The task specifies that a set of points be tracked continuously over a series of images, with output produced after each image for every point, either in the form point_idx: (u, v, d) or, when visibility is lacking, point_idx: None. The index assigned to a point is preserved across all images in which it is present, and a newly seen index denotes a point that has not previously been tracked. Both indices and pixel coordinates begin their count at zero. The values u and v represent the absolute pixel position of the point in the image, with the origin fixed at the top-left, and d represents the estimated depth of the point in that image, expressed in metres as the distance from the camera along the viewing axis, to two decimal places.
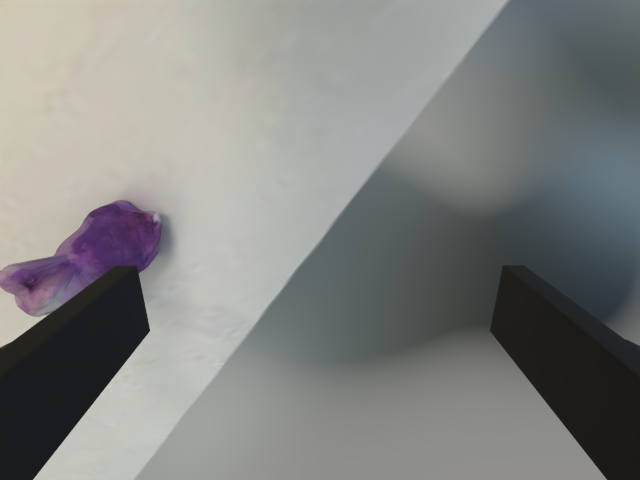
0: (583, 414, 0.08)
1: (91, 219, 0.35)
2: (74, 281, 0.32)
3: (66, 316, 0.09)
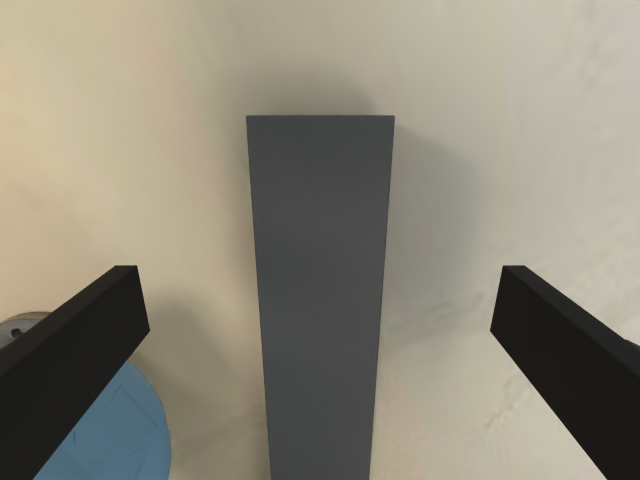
0: (583, 414, 0.08)
1: None
2: None
3: (66, 316, 0.09)
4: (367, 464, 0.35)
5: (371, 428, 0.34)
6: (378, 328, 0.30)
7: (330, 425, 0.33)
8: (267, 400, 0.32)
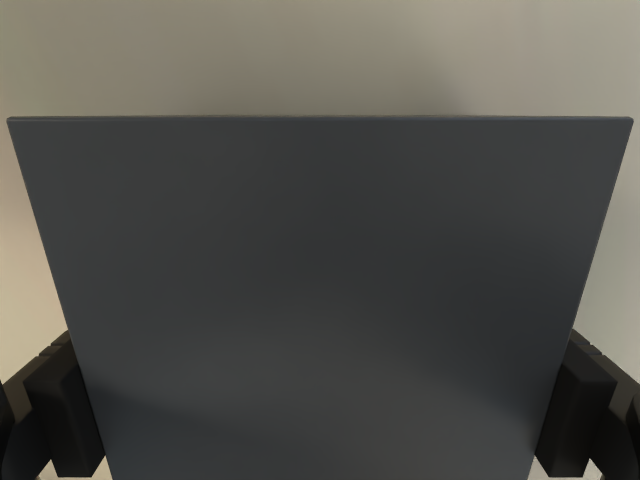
0: None
1: None
2: None
3: None
4: None
5: None
6: None
7: None
8: None
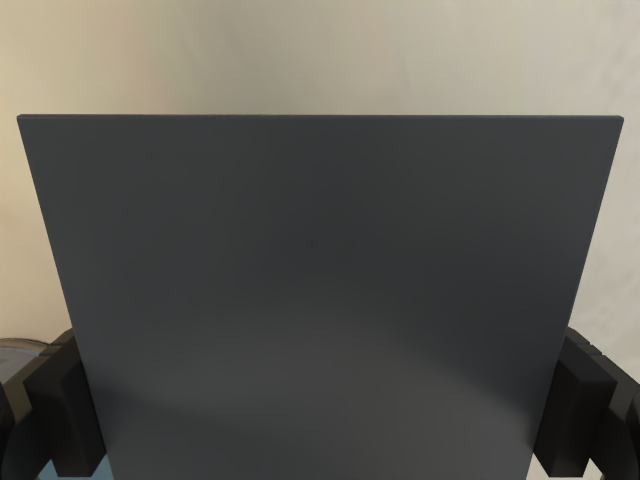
0: None
1: None
2: None
3: None
4: None
5: None
6: None
7: None
8: None
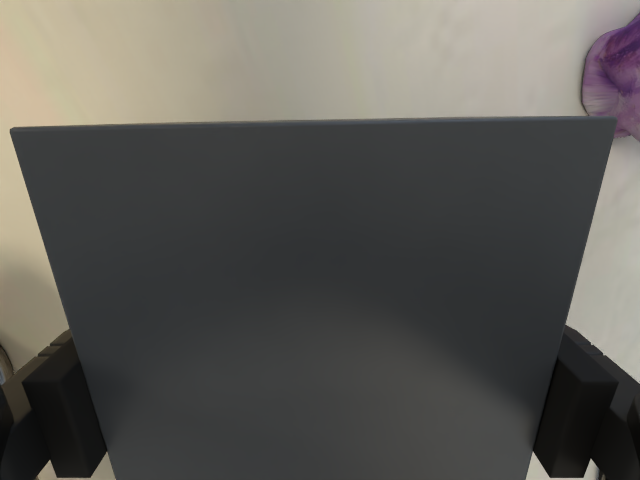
0: None
1: None
2: None
3: None
4: None
5: None
6: None
7: None
8: None
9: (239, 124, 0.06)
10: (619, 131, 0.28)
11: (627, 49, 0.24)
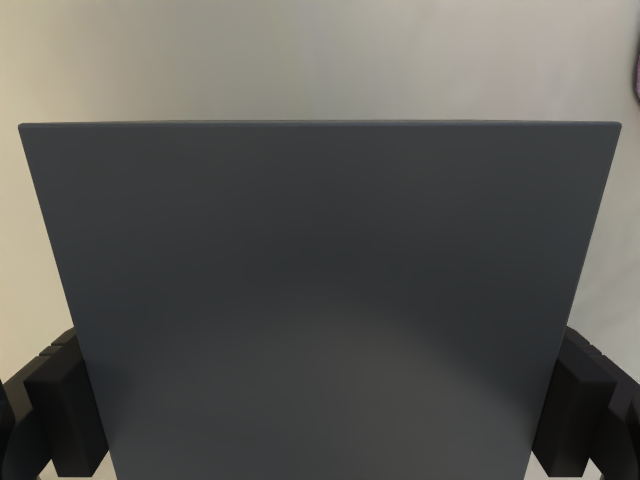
0: None
1: None
2: None
3: None
4: None
5: None
6: None
7: None
8: None
9: (246, 124, 0.06)
10: None
11: None
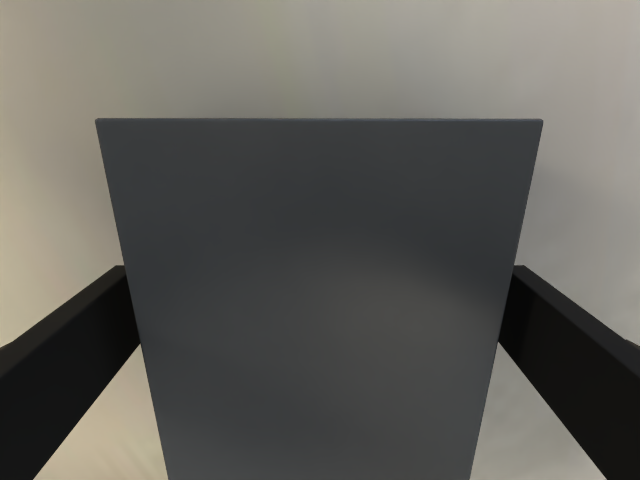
0: (584, 414, 0.08)
1: None
2: None
3: (66, 316, 0.09)
4: None
5: None
6: None
7: None
8: None
9: (265, 119, 0.08)
10: None
11: None
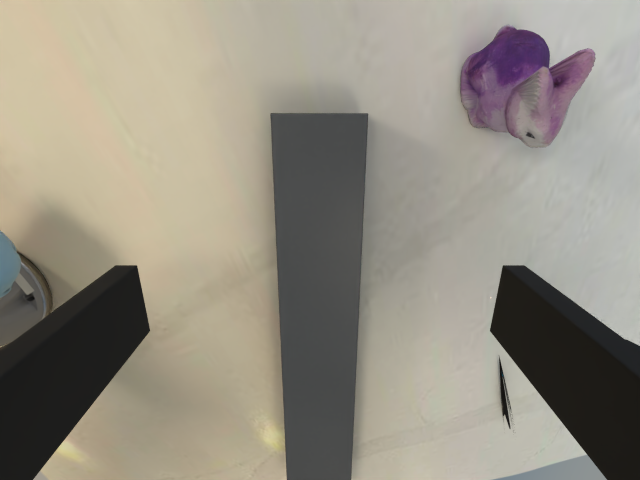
0: (584, 414, 0.08)
1: (487, 64, 0.36)
2: None
3: (66, 316, 0.09)
4: (354, 371, 0.48)
5: (356, 341, 0.46)
6: (360, 263, 0.42)
7: (326, 339, 0.46)
8: (281, 319, 0.45)
9: (307, 113, 0.36)
10: None
11: (475, 67, 0.37)
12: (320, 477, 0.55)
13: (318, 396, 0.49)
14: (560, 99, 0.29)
